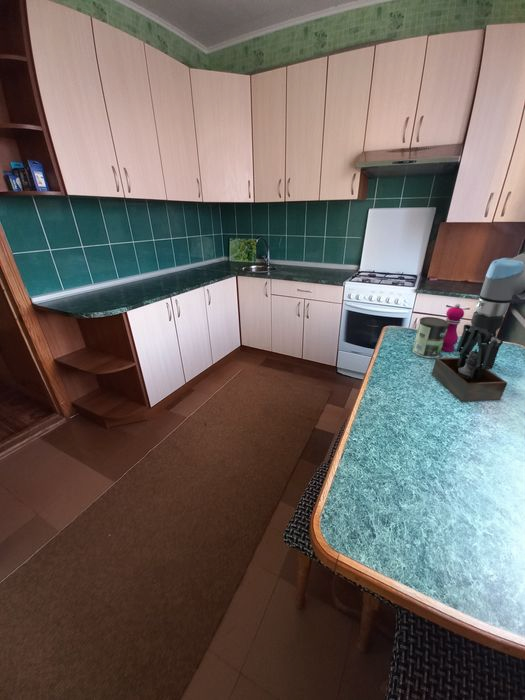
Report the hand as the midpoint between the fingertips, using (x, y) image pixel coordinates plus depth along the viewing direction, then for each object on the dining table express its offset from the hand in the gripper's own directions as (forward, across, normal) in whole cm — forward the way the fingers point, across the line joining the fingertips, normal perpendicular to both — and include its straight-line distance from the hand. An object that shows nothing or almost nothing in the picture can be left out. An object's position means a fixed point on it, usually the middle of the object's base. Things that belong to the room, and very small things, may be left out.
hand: (466, 378), depth 98 cm
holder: (+3, 0, 0) cm, 3 cm away
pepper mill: (+3, -28, +11) cm, 30 cm away
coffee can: (+3, -25, +1) cm, 25 cm away
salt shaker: (+1, 0, 0) cm, 1 cm away
